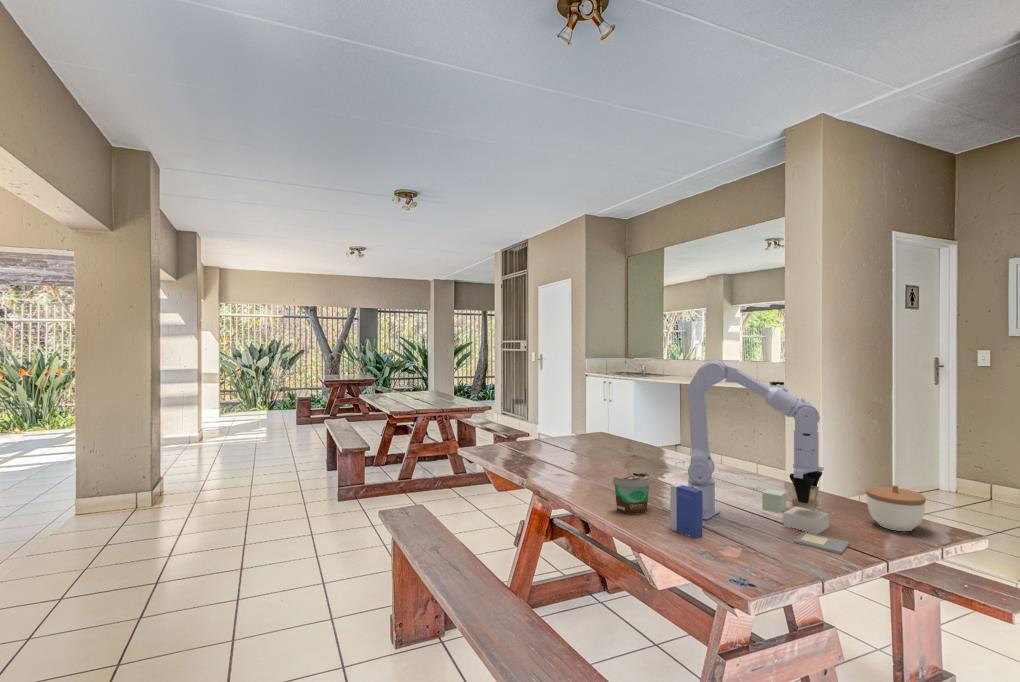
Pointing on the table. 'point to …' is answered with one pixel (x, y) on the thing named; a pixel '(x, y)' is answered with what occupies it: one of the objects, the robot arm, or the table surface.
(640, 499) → the food container
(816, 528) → the base block
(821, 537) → the card
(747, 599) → the table surface
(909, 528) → the lidded bowl
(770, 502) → the sage cube
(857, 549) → the table surface
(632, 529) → the table surface
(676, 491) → the walkman
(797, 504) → the birch cube
